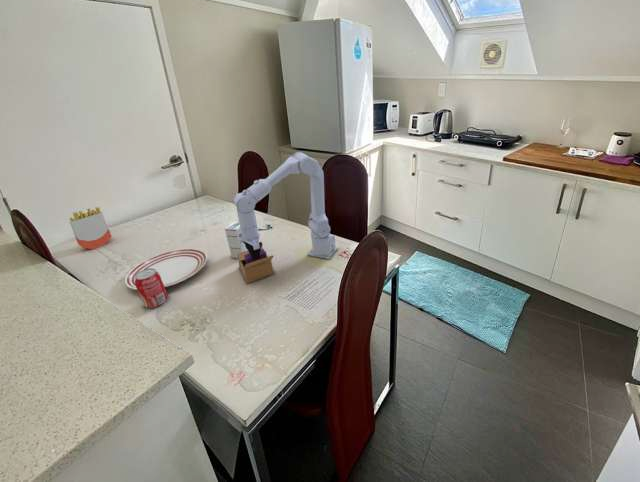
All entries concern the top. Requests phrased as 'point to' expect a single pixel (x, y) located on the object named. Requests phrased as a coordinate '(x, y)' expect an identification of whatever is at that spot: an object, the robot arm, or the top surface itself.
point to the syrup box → (234, 239)
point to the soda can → (150, 287)
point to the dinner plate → (171, 266)
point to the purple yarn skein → (249, 258)
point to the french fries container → (90, 229)
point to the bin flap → (258, 262)
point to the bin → (254, 268)
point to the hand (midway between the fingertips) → (254, 257)
